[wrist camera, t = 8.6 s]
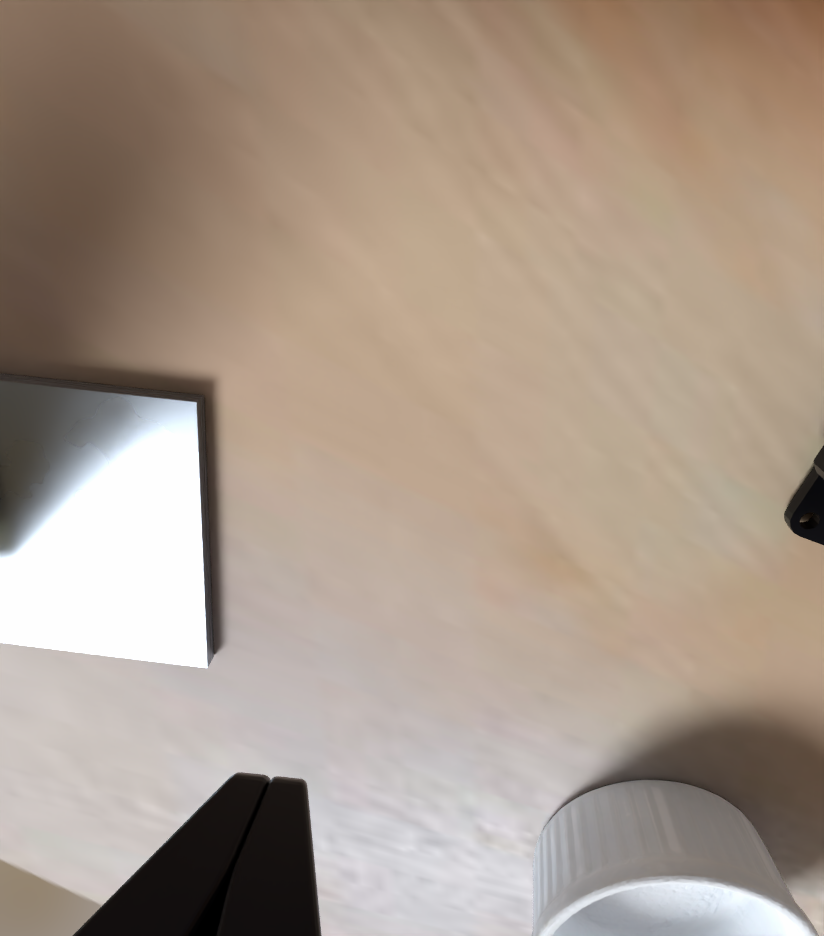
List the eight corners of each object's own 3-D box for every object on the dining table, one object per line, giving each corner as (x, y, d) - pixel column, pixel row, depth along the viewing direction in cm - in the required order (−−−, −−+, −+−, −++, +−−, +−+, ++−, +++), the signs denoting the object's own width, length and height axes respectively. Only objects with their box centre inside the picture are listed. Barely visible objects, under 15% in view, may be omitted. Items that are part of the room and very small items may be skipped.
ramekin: (595, 725, 24) (618, 841, 20) (829, 819, 24) (896, 948, 20) (479, 885, 27) (479, 1011, 23) (686, 963, 28) (720, 1097, 24)
